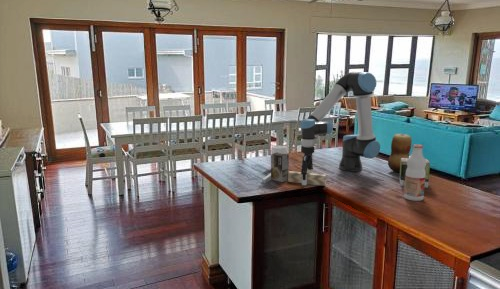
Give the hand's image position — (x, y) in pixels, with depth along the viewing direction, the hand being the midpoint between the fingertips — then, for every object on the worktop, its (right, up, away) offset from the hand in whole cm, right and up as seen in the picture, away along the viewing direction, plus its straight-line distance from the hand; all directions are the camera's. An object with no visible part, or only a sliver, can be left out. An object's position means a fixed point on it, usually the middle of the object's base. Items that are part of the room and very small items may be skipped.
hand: (306, 182), depth 224 cm
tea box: (+61, -1, -4) cm, 61 cm away
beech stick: (0, 0, 0) cm, 1 cm away
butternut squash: (+64, +4, +24) cm, 68 cm away
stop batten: (-22, +2, +9) cm, 23 cm away
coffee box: (-16, +1, +7) cm, 17 cm away
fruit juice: (+51, -6, -27) cm, 58 cm away
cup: (-14, +6, +34) cm, 37 cm away
